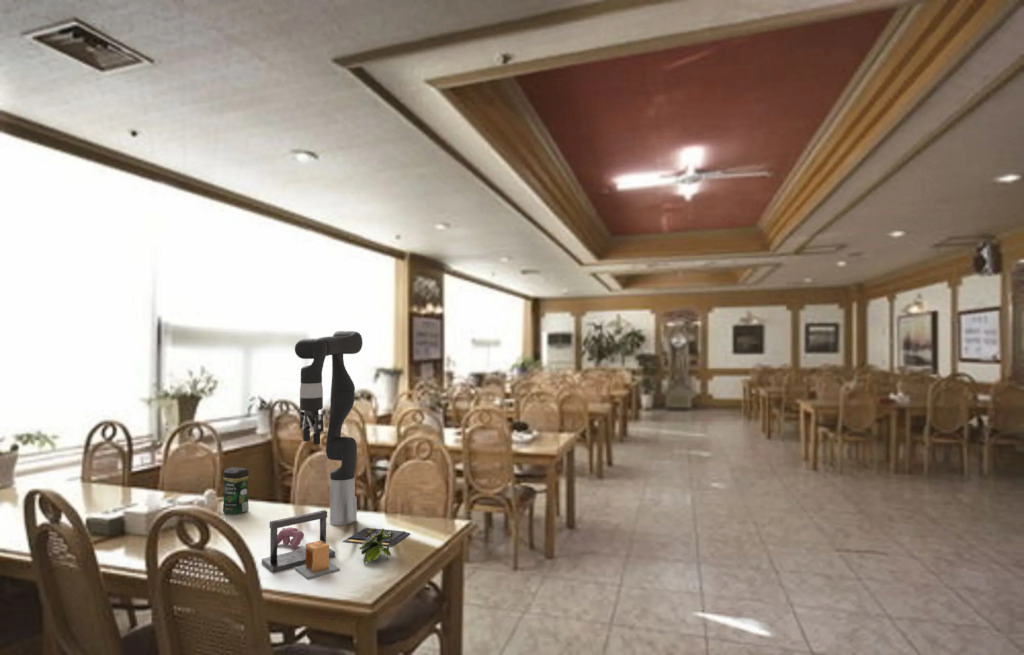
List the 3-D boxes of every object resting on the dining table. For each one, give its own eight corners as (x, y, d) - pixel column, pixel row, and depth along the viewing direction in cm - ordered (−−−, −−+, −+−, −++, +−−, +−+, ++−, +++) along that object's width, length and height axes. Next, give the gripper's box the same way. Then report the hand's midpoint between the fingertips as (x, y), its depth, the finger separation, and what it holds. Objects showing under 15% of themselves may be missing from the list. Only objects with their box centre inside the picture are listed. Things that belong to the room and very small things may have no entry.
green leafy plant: (370, 572, 187) (378, 535, 195) (397, 571, 183) (404, 533, 190) (349, 562, 179) (358, 524, 187) (377, 560, 175) (385, 521, 183)
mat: (325, 561, 183) (326, 559, 183) (339, 570, 175) (339, 568, 175) (294, 569, 176) (294, 567, 176) (307, 579, 169) (307, 577, 169)
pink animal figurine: (301, 551, 196) (307, 530, 199) (292, 549, 193) (299, 527, 196) (279, 547, 200) (286, 527, 203) (270, 545, 196) (277, 524, 199)
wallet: (412, 530, 209) (391, 544, 195) (412, 535, 209) (391, 549, 195) (364, 525, 215) (341, 538, 201) (364, 530, 215) (341, 543, 201)
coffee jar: (219, 513, 236) (219, 468, 236) (234, 508, 243) (234, 465, 244) (237, 516, 232) (237, 470, 233) (252, 510, 240) (252, 466, 240)
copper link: (305, 567, 176) (305, 543, 176) (321, 563, 179) (321, 540, 180) (313, 573, 172) (313, 549, 172) (329, 568, 175) (329, 545, 175)
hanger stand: (261, 563, 181) (262, 519, 182) (322, 548, 194) (322, 507, 195) (272, 572, 174) (273, 526, 174) (335, 556, 187) (335, 513, 187)
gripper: (330, 396, 195) (330, 444, 195) (313, 393, 206) (313, 438, 205) (309, 398, 190) (309, 447, 190) (292, 395, 201) (292, 441, 200)
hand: (311, 442), depth 198 cm, fingers open, 8 cm apart
